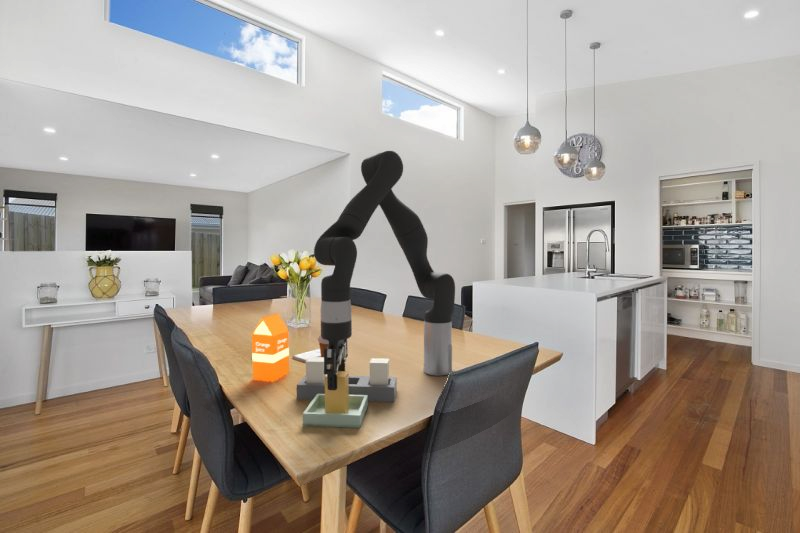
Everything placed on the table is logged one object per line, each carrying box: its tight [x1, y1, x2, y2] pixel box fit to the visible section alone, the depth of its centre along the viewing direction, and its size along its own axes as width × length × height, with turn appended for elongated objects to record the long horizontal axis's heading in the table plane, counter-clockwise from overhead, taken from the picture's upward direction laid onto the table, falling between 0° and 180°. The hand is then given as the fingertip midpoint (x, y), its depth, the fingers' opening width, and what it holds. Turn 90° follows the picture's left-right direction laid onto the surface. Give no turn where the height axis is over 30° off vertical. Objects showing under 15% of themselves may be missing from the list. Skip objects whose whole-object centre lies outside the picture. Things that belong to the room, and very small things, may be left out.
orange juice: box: [251, 312, 290, 383], centre depth 119 cm, size 8×9×20 cm
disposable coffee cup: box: [317, 333, 332, 369], centre depth 126 cm, size 10×10×12 cm
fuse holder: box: [296, 374, 398, 403], centre depth 104 cm, size 27×8×4 cm, turn 86°
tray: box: [302, 394, 369, 429], centre depth 92 cm, size 14×12×3 cm
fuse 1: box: [305, 357, 325, 384], centre depth 105 cm, size 5×4×10 cm
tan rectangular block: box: [325, 370, 350, 413], centre depth 91 cm, size 5×4×10 cm
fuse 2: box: [369, 357, 390, 385], centre depth 104 cm, size 5×4×10 cm
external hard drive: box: [292, 348, 321, 363], centre depth 141 cm, size 2×8×12 cm
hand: (336, 383), depth 91 cm, fingers open, 8 cm apart
